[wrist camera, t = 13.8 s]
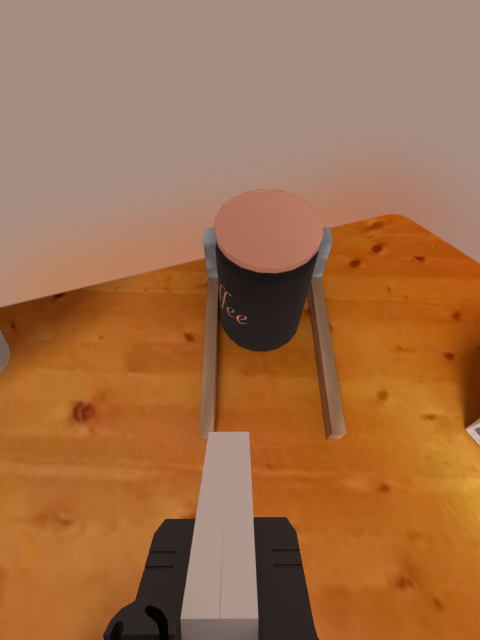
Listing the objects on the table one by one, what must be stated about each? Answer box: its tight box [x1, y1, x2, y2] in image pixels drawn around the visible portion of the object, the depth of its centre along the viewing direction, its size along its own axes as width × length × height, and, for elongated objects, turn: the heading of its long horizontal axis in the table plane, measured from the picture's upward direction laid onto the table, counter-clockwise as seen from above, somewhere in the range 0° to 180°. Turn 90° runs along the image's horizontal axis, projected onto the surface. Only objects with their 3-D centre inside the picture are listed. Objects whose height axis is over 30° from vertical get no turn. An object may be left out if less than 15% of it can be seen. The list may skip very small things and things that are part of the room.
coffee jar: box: [214, 189, 324, 352], centre depth 42 cm, size 11×11×18 cm
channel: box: [199, 228, 346, 440], centre depth 43 cm, size 16×24×10 cm, turn 0°
